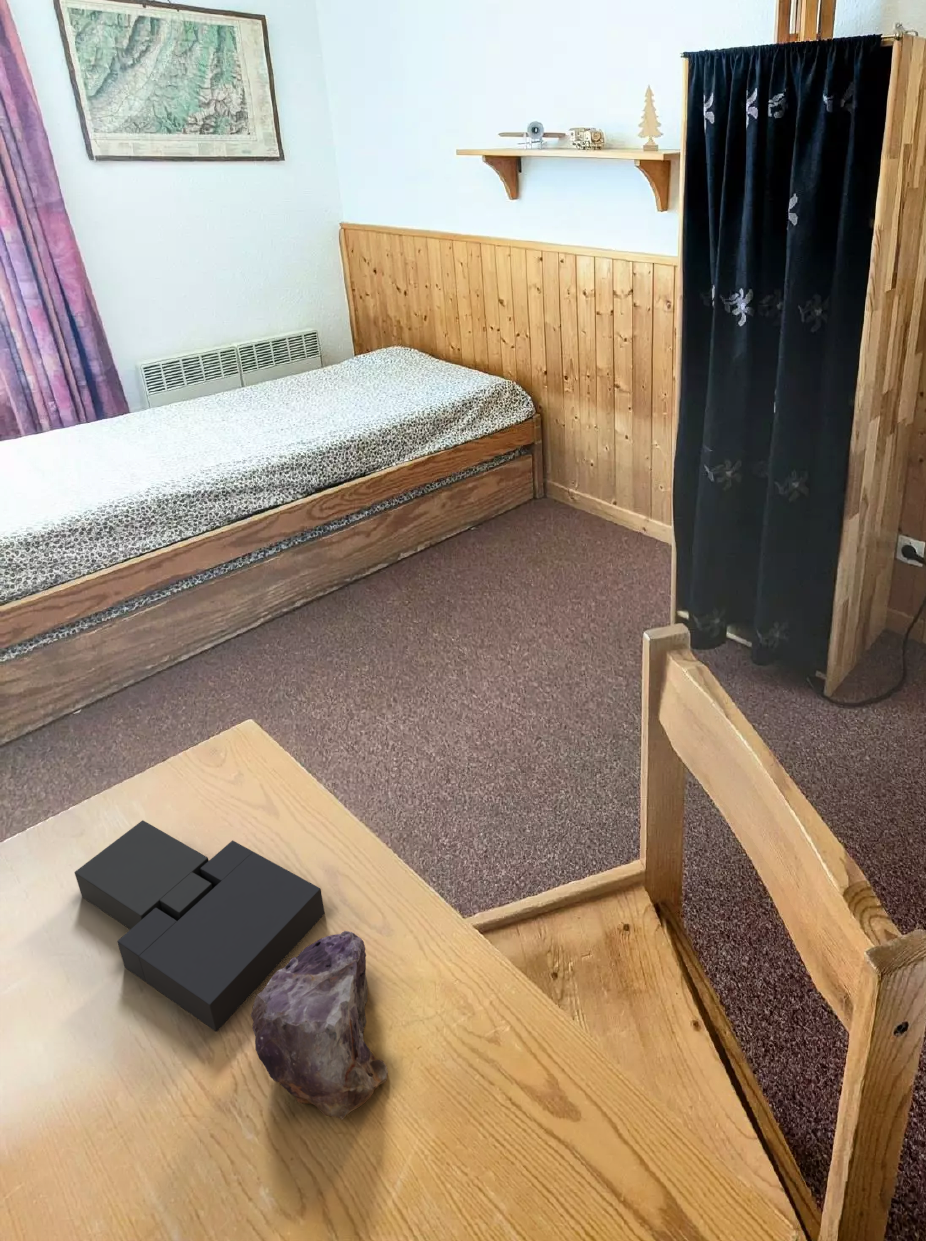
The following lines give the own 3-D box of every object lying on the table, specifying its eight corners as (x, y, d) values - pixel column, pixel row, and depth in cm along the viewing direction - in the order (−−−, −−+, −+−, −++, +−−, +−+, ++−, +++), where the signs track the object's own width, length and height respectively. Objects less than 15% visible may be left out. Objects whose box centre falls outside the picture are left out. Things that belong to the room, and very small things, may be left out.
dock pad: (126, 973, 71) (116, 941, 70) (238, 869, 81) (232, 840, 80) (217, 1038, 66) (209, 1005, 64) (325, 919, 76) (320, 888, 74)
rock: (386, 989, 71) (266, 1019, 68) (380, 906, 69) (255, 934, 66) (389, 1120, 60) (245, 1163, 57) (381, 1026, 58) (232, 1065, 55)
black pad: (83, 902, 77) (73, 872, 76) (150, 848, 83) (142, 819, 82) (169, 960, 72) (160, 929, 71) (234, 899, 78) (228, 868, 76)
